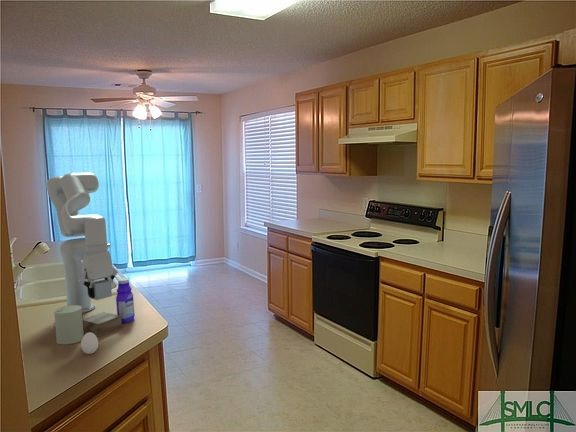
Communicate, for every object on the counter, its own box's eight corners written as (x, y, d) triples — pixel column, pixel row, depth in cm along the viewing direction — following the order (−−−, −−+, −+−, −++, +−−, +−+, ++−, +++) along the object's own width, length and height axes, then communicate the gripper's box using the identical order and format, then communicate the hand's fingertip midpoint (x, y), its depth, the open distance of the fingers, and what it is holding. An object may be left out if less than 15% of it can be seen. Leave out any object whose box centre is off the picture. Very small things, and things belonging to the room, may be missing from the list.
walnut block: (82, 332, 170) (81, 319, 169) (104, 324, 178) (103, 312, 178) (99, 337, 165) (98, 324, 164) (121, 328, 174) (120, 315, 173)
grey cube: (88, 297, 169) (87, 282, 169) (103, 293, 174) (102, 278, 173) (97, 300, 166) (95, 284, 165) (111, 296, 170) (110, 281, 170)
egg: (101, 350, 152) (100, 329, 152) (95, 356, 147) (93, 335, 146) (85, 350, 152) (84, 329, 151) (79, 357, 147) (77, 335, 146)
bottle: (127, 324, 177) (125, 281, 175) (114, 323, 178) (112, 281, 176) (137, 318, 184) (134, 277, 182) (124, 317, 185) (122, 276, 183)
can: (54, 338, 163) (51, 307, 162) (81, 332, 169) (78, 302, 167) (59, 346, 156) (56, 313, 154) (87, 340, 161) (84, 308, 160)
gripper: (112, 244, 177) (115, 288, 179) (69, 251, 163) (73, 299, 165) (122, 246, 172) (125, 291, 174) (79, 253, 159) (83, 302, 161)
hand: (100, 294), depth 170 cm, fingers closed on grey cube, 6 cm apart
